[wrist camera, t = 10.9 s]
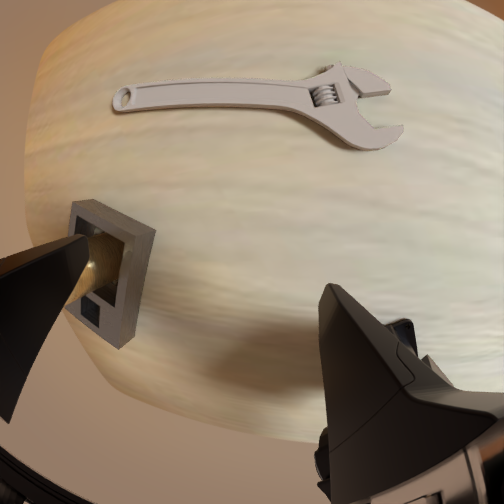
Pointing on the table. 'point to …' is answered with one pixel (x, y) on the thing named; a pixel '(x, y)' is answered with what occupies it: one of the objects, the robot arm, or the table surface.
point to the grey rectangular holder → (130, 278)
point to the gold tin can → (99, 265)
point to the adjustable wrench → (279, 100)
